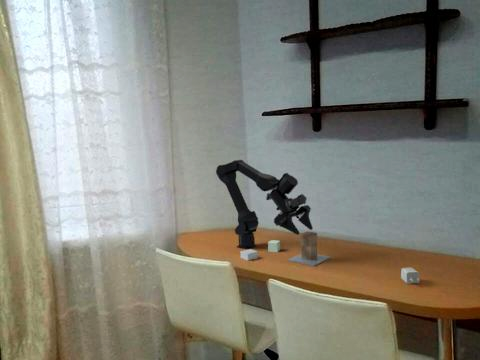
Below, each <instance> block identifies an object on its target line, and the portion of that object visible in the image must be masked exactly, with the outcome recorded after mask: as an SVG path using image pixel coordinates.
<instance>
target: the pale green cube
mask: <svg viewBox="0 0 480 360" xmlns="http://www.w3.org/2000/svg"><path fill="white" fill-rule="evenodd" d="M267 245H268V246H267V250H268V251H267V252H271V253H278V252H279V251H280V250H281V241H280V240H277V239H276V240H275V239H270V240H269V241H268V242H267Z"/></svg>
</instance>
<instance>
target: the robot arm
mask: <svg viewBox="0 0 480 360" xmlns="http://www.w3.org/2000/svg"><path fill="white" fill-rule="evenodd" d="M237 172H238V173H241V174H242V175H244V176H246V177H247V178H249V179H250V180H252V181H253V182H254V183H255V184H256V186H257V188H258V189H260V190H261V191H262V192H269V191H270V192H269V193H266V201H270V200H272V201H273V203H274V204H275V206H276V211H280V212H278V214H277V215H276V216H275V217H274V218H273V223H274V224H275V226H276V227H277V226H278V227H280V228H283V229H285V230H287V231H289V232H291V233H293V234H295V235H297V236H298V235H299V234H300V232H299V229H298V228H297V226H296V225H295V224H294V222H293V218H294V217H295V218H296V219H298V222H300V224H303V225H304V226H305V227H306V228H307V229H308V230H310V231H312V230H313V227H314V226H313V225H312V222H311V219H310V212H311V210H312V208H311V207H310V205H308V204H306V203H307V197H306V196H305V195H304V194H303V193H301V194H300V195H297V197H295V198H293V197H288V196H287V195H289V194H291V193H292V192H293V190H294V189H295V188H296V187H297V186H298V184H299V181H298V179H297V178H296V177H294V176H293V175H291V174H289V173H288V172H284V173H283V175H282V176H281V178H280V179H278V178H277V177H276V176H275V175H271V174H269V173H264V172H261V171H259V170H258V169H257V168H255V167H253V166H251V165H250V164H249V163H246V162H245V161H244V160H243V159H235V160H233V161H231V162H228V163H226V164H219V165H218V166H217V167H216V170H215V174H216V176H217V178H218V179H219V181H221V182H222V183H223V184H224V185H225V186H226V189H227V190H228V194H229V196H230V198H231V200H232V202H233V204H234V205H233V206H234V207H235V209H236V212H237V223H238V224H237V226H236V227H235V229H234V233H235V235H238V245H236V248H240V249H245V250H248V249H251V248H255V247H256V246H257V244H256V243H255V242H256V241H255V240H256V239H255V236H254V235H255V234H254V233H255V232H256V233H257V228H258V226H259V224H260V223H259V217H258V216H257V214H256V211H255V210H253V211H251V210H250V209H249V207H248V205H247V202H246V200H245V198H244V196H243V193H242V191H241V189H240V187H239V184H238V182H237ZM303 204H304V205H303Z"/></svg>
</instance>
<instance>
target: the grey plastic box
mask: <svg viewBox="0 0 480 360" xmlns="http://www.w3.org/2000/svg"><path fill="white" fill-rule="evenodd" d="M258 254H259V253H258V251H257V250H254V249H251V248H249V249H245V250H244V249H243V250H240V259H242V258H243V259H242V260H245V261H246V262H247V261H248V260H249V261H253V260H256V259H258V258H259V255H258ZM252 259H253V260H252Z"/></svg>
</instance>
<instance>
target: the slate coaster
mask: <svg viewBox="0 0 480 360" xmlns="http://www.w3.org/2000/svg"><path fill="white" fill-rule="evenodd" d="M331 258H332V257H331V256H328V255H321V254H318V253H317V258H316V259H313V260H306V259H301V253H299V254H297V255H294V256H292V257H290V258H288V259H287V261H288V262H292V263H296V264H297V263H298V264H301V265H305V266H306V265H307V266H310V267H316V266H318V265H320V264H321V263H325V262H326V261H328V260H330V259H331Z"/></svg>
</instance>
